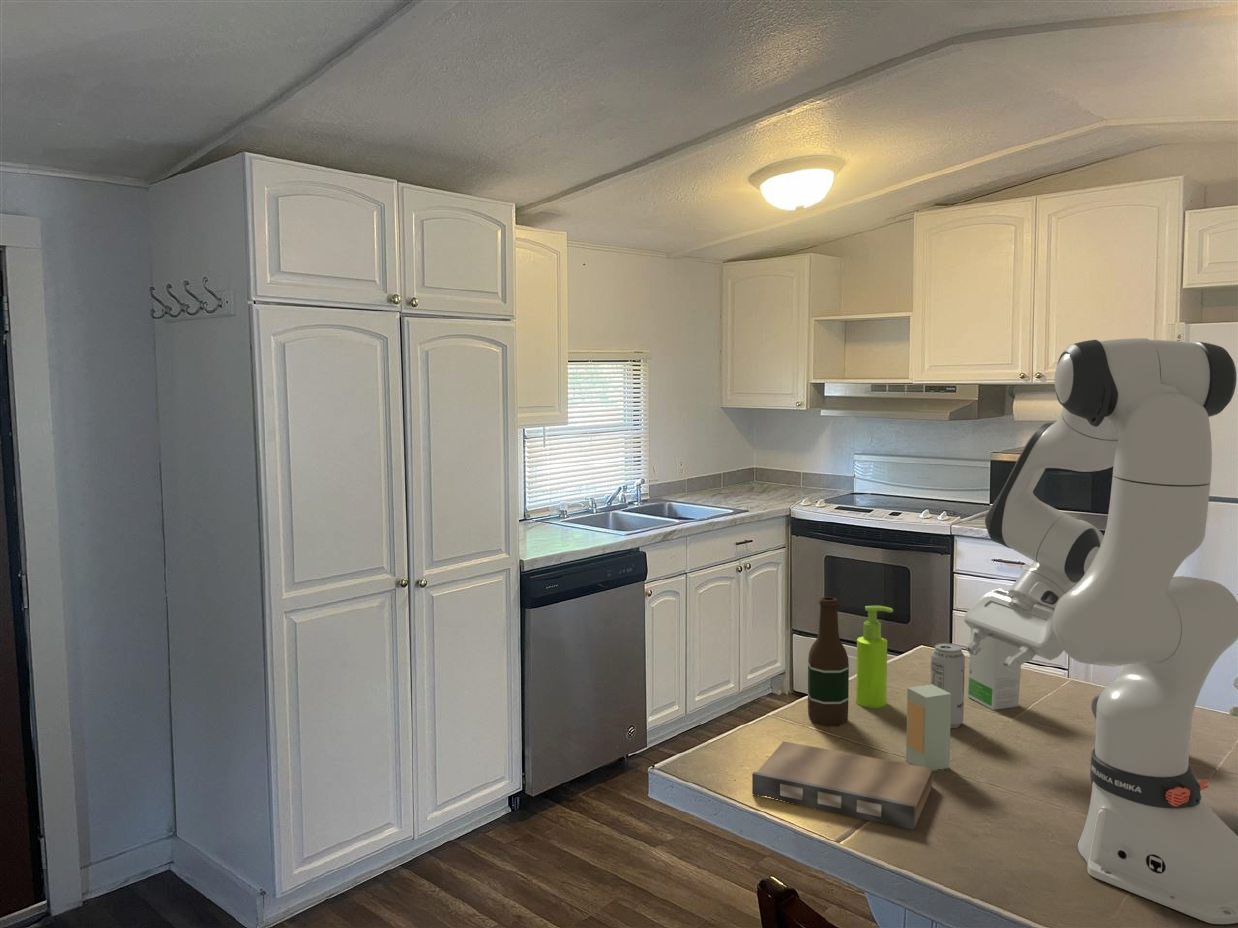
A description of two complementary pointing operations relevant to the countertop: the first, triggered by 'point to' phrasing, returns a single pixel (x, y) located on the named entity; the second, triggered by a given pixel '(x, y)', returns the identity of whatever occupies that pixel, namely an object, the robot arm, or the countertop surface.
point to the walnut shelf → (845, 784)
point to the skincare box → (993, 675)
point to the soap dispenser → (872, 662)
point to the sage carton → (928, 727)
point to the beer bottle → (828, 670)
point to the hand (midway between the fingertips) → (988, 660)
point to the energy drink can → (950, 677)
